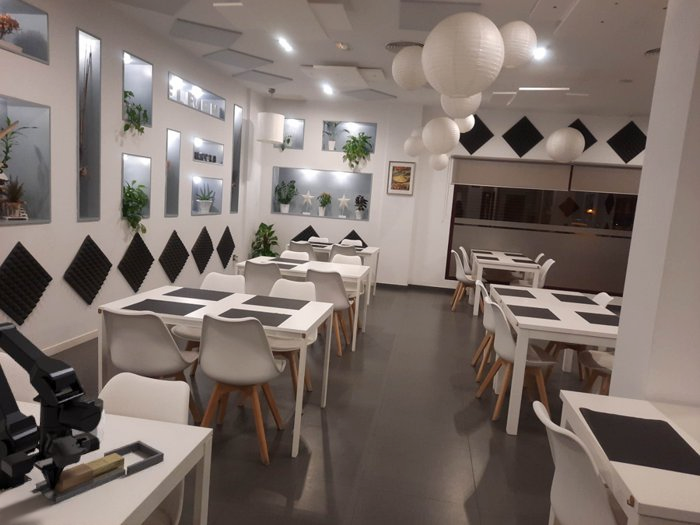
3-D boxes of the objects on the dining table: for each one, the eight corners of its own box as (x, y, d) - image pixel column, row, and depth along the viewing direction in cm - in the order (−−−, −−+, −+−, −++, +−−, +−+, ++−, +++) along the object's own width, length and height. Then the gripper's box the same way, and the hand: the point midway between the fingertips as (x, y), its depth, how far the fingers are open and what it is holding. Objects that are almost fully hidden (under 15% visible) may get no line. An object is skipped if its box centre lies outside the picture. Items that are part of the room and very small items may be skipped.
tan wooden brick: (53, 487, 116) (53, 474, 116) (83, 475, 122) (83, 463, 121) (62, 494, 114) (63, 481, 113) (93, 482, 119) (93, 469, 119)
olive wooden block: (83, 476, 122) (84, 464, 121) (99, 469, 125) (99, 458, 125) (92, 481, 119) (93, 469, 119) (108, 475, 123) (109, 463, 123)
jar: (68, 454, 132) (69, 410, 131) (65, 441, 139) (67, 399, 138) (105, 447, 137) (107, 405, 136) (101, 435, 144) (103, 395, 143)
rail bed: (35, 490, 115) (36, 483, 115) (104, 464, 129) (104, 457, 129) (55, 505, 110) (56, 498, 110) (125, 476, 124) (125, 469, 124)
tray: (103, 462, 130) (104, 453, 129) (138, 449, 138) (139, 440, 138) (128, 477, 124) (128, 467, 123) (163, 462, 132) (163, 453, 132)
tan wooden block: (99, 469, 125) (100, 458, 125) (114, 464, 128) (115, 452, 128) (108, 475, 123) (109, 463, 123) (123, 469, 126) (124, 458, 126)
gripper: (25, 447, 100) (22, 522, 101) (114, 421, 115) (111, 486, 117) (1, 430, 106) (-1, 500, 107) (88, 407, 122) (85, 469, 123)
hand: (51, 489), depth 113 cm, fingers closed
